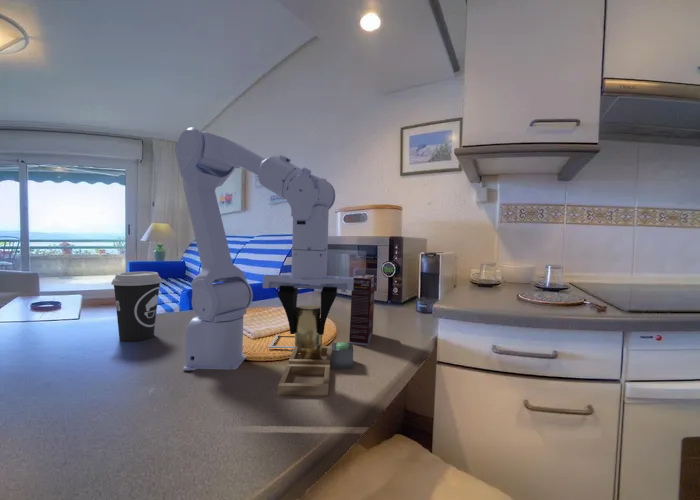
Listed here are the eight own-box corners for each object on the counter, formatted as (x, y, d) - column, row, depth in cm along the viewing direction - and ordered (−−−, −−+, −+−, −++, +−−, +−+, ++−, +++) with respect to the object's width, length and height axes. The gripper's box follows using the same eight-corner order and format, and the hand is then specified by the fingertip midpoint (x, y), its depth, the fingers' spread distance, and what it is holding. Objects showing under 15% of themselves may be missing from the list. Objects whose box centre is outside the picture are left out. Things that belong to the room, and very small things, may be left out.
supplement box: (369, 348, 66) (371, 278, 65) (348, 345, 67) (350, 277, 66) (373, 336, 74) (375, 274, 74) (355, 334, 75) (357, 273, 75)
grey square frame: (268, 352, 61) (268, 346, 61) (277, 337, 70) (277, 332, 70) (311, 353, 61) (311, 347, 61) (315, 338, 71) (315, 333, 70)
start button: (335, 367, 54) (336, 346, 54) (335, 362, 56) (336, 342, 56) (348, 367, 54) (348, 346, 54) (347, 362, 56) (348, 342, 56)
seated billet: (299, 364, 54) (300, 332, 54) (302, 355, 58) (303, 326, 58) (320, 364, 55) (321, 333, 54) (322, 356, 59) (323, 327, 58)
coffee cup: (152, 328, 74) (152, 270, 74) (168, 336, 68) (169, 274, 68) (104, 337, 66) (105, 273, 66) (118, 347, 61) (119, 277, 60)
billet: (291, 347, 46) (292, 309, 45) (299, 339, 49) (300, 304, 49) (315, 349, 45) (317, 311, 45) (321, 340, 49) (322, 306, 49)
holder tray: (276, 399, 43) (276, 386, 43) (294, 354, 60) (294, 345, 60) (329, 400, 44) (329, 387, 44) (332, 355, 61) (332, 346, 61)
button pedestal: (331, 371, 53) (331, 350, 53) (331, 362, 57) (332, 342, 57) (352, 371, 53) (353, 350, 53) (351, 362, 57) (352, 343, 57)
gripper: (257, 249, 43) (255, 339, 43) (355, 252, 43) (352, 341, 43) (269, 247, 50) (267, 325, 50) (353, 250, 50) (350, 327, 50)
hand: (307, 332), depth 47 cm, fingers closed on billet, 4 cm apart
